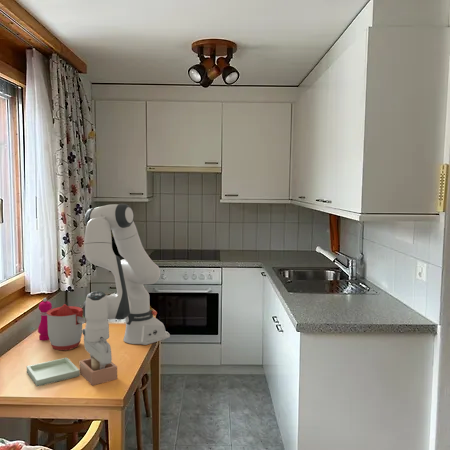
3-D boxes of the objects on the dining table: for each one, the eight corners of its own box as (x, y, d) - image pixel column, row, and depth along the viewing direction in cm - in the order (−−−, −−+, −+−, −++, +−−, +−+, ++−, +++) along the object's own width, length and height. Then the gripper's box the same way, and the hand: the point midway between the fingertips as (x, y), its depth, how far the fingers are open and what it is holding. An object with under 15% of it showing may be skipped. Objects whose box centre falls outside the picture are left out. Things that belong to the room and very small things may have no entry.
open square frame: (103, 366, 187) (103, 355, 186) (117, 378, 176) (117, 366, 175) (79, 372, 181) (79, 360, 181) (92, 385, 170) (91, 372, 169)
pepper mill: (57, 336, 223) (56, 296, 221) (48, 341, 216) (46, 300, 214) (44, 335, 225) (43, 295, 223) (35, 340, 218) (33, 299, 216)
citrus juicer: (76, 354, 201) (75, 310, 199) (40, 351, 204) (39, 308, 202) (92, 342, 216) (91, 300, 214) (59, 339, 219) (57, 299, 217)
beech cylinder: (102, 372, 182) (101, 355, 181) (106, 376, 178) (106, 359, 177) (89, 375, 179) (89, 358, 178) (94, 379, 175) (93, 362, 174)
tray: (67, 362, 191) (66, 357, 191) (79, 376, 178) (79, 370, 178) (26, 372, 182) (26, 366, 181) (37, 386, 169) (36, 380, 168)
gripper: (115, 339, 170) (116, 375, 172) (95, 325, 187) (96, 358, 188) (99, 343, 167) (100, 379, 168) (80, 328, 183) (81, 361, 184)
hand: (98, 368), depth 178 cm, fingers open, 7 cm apart
